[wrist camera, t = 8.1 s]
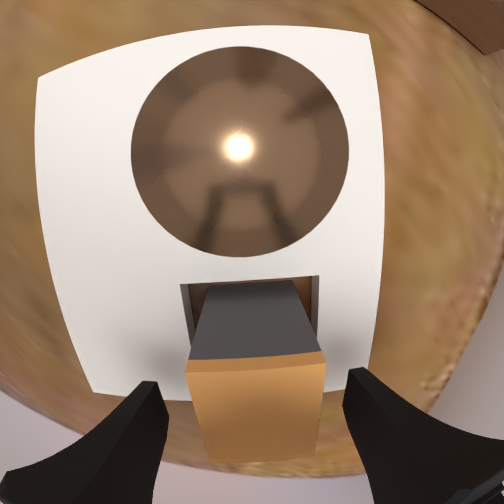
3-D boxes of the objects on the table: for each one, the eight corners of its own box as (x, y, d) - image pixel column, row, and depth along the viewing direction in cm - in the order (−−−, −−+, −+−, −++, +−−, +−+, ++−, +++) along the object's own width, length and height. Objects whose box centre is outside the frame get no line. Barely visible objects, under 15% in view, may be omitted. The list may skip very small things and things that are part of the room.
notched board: (101, 377, 15) (93, 392, 14) (53, 83, 11) (38, 77, 9) (355, 370, 15) (363, 385, 14) (357, 45, 11) (368, 34, 9)
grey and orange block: (220, 366, 15) (211, 462, 9) (209, 285, 14) (184, 372, 7) (292, 362, 15) (314, 455, 9) (291, 279, 14) (326, 362, 7)
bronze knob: (183, 225, 11) (142, 263, 7) (175, 104, 10) (129, 62, 5) (307, 217, 11) (350, 250, 7) (300, 96, 10) (338, 48, 5)
